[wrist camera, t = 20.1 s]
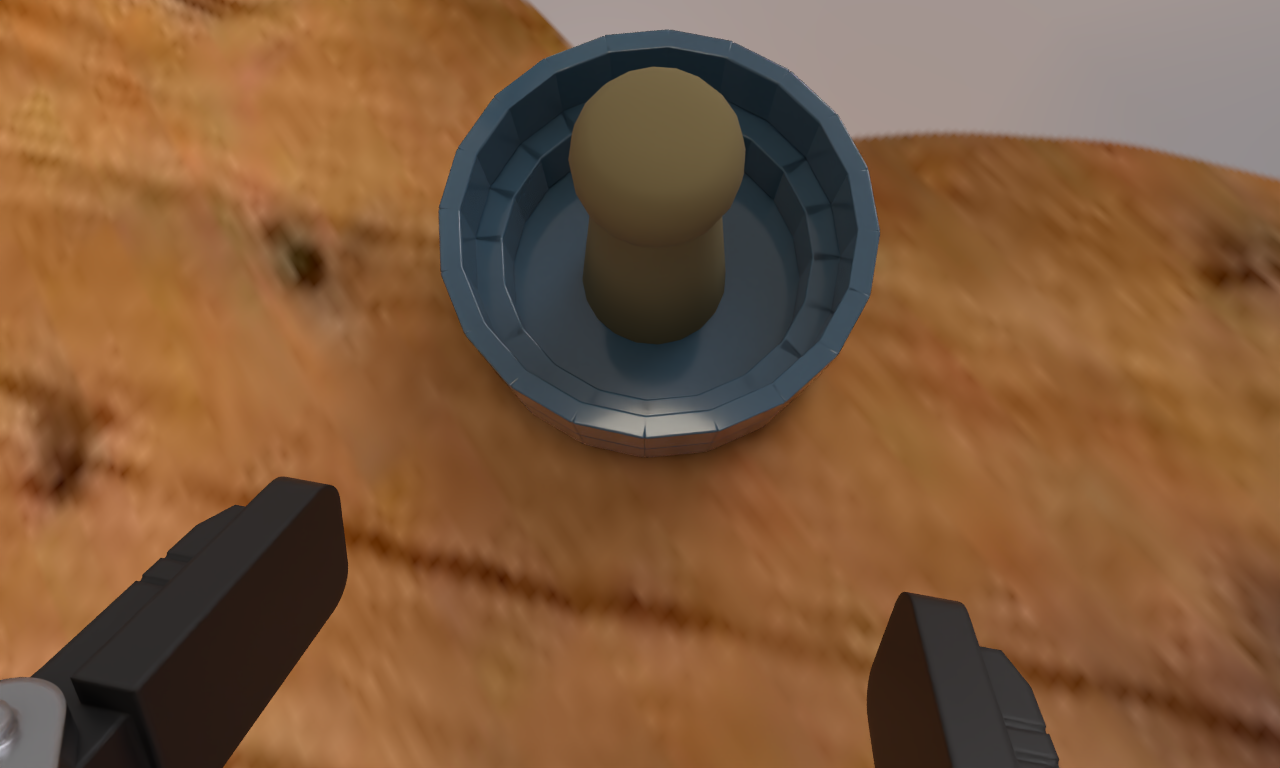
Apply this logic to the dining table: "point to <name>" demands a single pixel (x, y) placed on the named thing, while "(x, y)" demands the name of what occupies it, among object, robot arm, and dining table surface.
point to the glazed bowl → (753, 246)
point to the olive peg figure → (656, 200)
